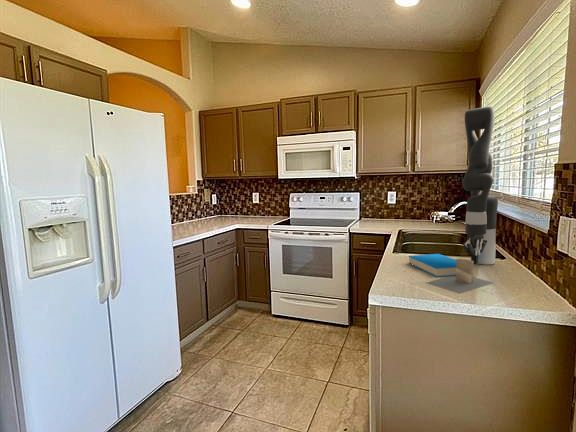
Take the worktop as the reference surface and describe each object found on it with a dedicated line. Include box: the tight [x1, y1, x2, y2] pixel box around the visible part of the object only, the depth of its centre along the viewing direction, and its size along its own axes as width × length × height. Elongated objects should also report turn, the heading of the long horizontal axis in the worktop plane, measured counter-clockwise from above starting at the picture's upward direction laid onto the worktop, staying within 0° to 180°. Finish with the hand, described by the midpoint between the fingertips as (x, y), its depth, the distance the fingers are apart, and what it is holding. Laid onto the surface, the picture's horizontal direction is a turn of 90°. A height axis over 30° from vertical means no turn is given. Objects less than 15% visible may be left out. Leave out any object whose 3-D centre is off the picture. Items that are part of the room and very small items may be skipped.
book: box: [408, 253, 457, 278], centre depth 154 cm, size 17×4×25 cm
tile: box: [456, 257, 475, 284], centre depth 133 cm, size 2×6×9 cm, turn 28°
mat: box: [425, 275, 495, 295], centre depth 133 cm, size 22×15×1 cm
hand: (474, 263), depth 136 cm, fingers closed
